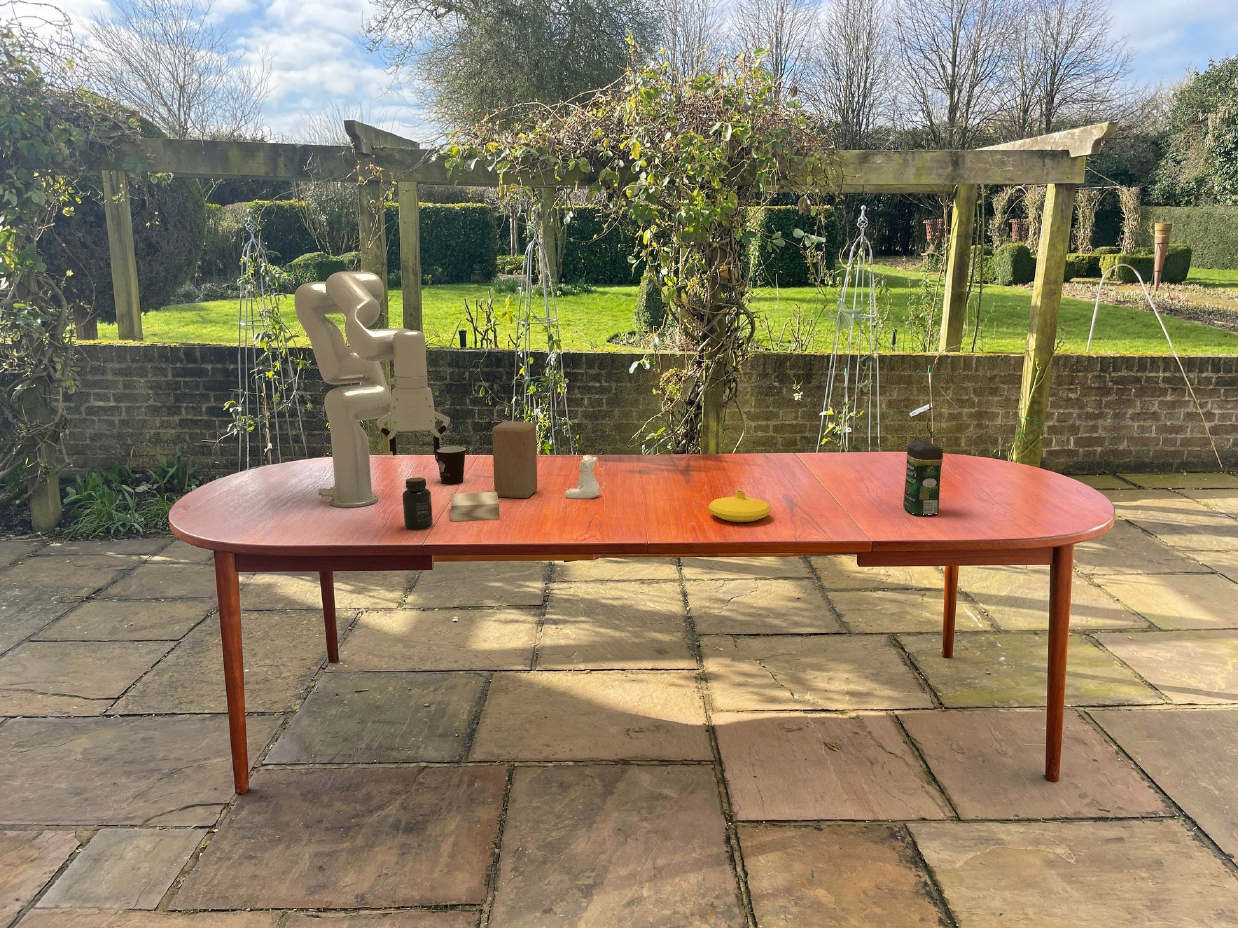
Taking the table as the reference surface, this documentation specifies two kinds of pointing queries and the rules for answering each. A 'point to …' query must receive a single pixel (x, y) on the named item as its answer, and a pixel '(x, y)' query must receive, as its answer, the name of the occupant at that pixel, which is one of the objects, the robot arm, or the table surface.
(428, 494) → the supplement bottle
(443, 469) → the coffee mug
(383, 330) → the robot arm
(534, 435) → the block
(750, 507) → the vase
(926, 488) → the coffee jar
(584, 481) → the seated beast figurine
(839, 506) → the table surface
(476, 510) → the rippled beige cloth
